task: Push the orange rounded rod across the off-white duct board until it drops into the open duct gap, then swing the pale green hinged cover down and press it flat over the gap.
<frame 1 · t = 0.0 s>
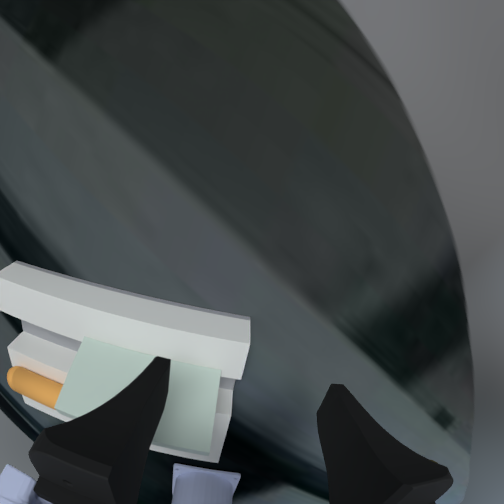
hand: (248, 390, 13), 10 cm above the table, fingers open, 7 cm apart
cover: (138, 395, 17), point 7 cm above the table, hinge at 70.0°
orange rounded rod: (59, 397, 20), point 5 cm above the table, touching duct board
duct board: (116, 362, 24), on the table
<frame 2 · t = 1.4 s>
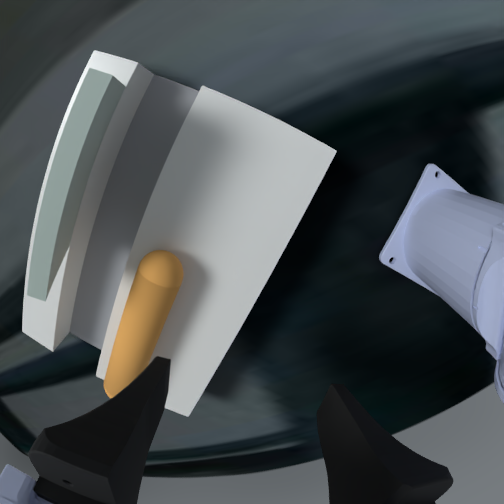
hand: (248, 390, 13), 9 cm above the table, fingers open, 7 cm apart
cover: (71, 178, 13), point 7 cm above the table, hinge at 70.0°
orange rounded rod: (136, 338, 17), point 5 cm above the table, touching duct board
duct board: (149, 243, 20), on the table
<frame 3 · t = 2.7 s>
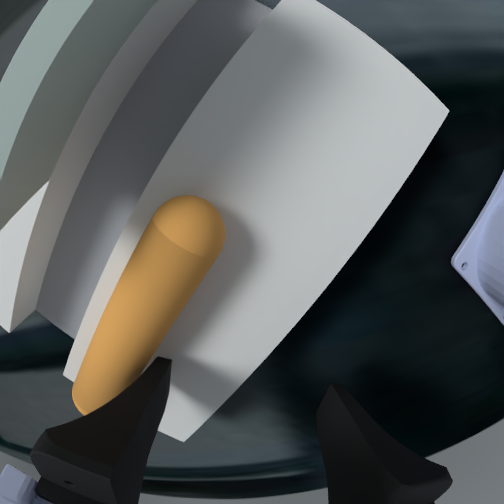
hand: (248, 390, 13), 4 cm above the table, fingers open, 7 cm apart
cover: (77, 54, 6), point 7 cm above the table, hinge at 70.0°
orange rounded rod: (128, 333, 11), point 5 cm above the table, touching duct board, gripper
duct board: (163, 198, 14), on the table
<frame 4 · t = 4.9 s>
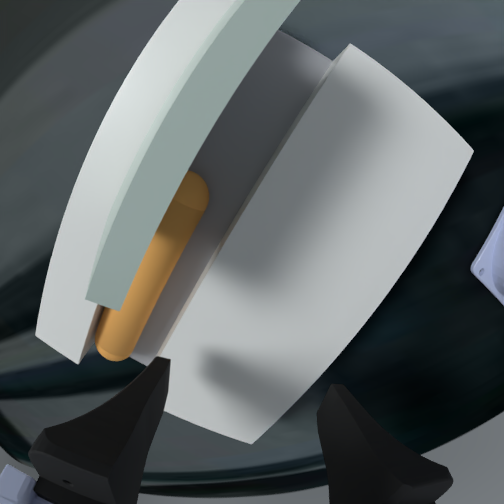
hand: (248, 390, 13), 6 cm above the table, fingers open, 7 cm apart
cover: (178, 115, 8), point 7 cm above the table, hinge at 70.0°
orange rounded rod: (141, 277, 15), point 2 cm above the table, tilted 119°, touching duct board
duct board: (230, 231, 16), on the table
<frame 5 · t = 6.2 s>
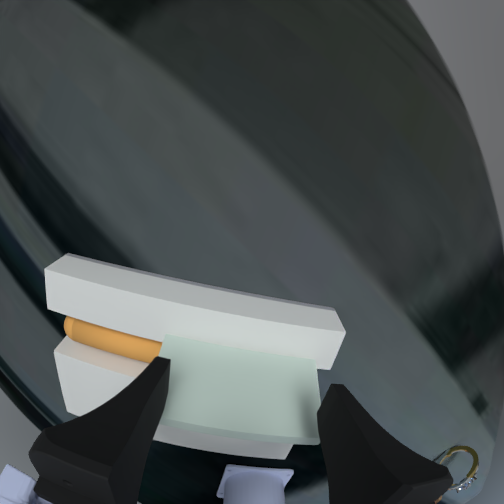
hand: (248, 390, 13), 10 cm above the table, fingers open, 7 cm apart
cover: (237, 391, 17), point 7 cm above the table, hinge at 76.6°
orange rounded rod: (131, 342, 22), point 2 cm above the table, tilted 152°, touching duct board
duct board: (183, 362, 24), on the table
ring: (446, 449, 31), on the table
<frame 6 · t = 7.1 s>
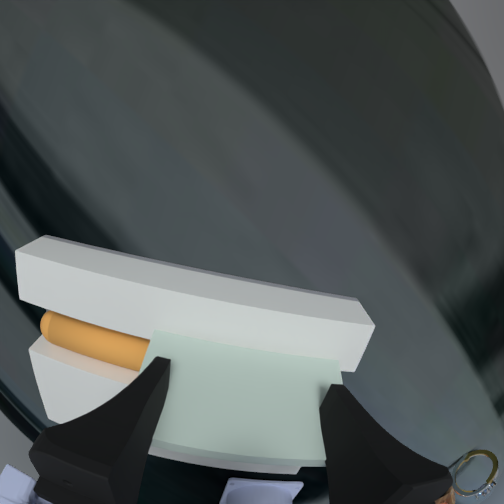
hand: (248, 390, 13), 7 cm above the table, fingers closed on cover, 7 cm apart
cover: (243, 401, 13), point 7 cm above the table, hinge at 75.5°, touching gripper
orange rounded rod: (116, 346, 18), point 2 cm above the table, tilted 174°, touching duct board
duct board: (178, 364, 20), on the table
ring: (464, 454, 27), on the table
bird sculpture: (423, 502, 32), on the table
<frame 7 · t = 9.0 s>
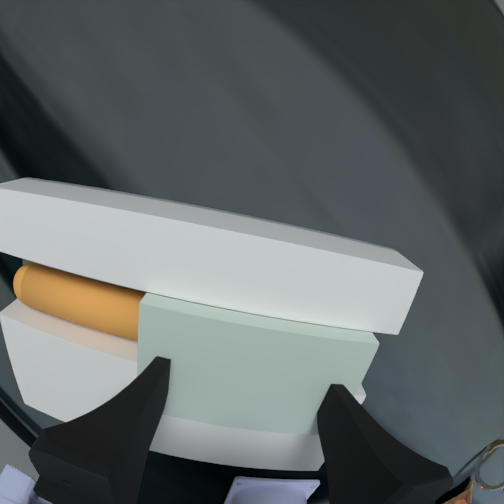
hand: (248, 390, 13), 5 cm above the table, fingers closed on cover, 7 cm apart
cover: (250, 378, 13), point 4 cm above the table, hinge at 1.8°, touching gripper
orange rounded rod: (101, 306, 15), point 2 cm above the table, tilted 170°, touching duct board
duct board: (177, 334, 17), on the table
ring: (487, 445, 24), on the table
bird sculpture: (440, 499, 29), on the table
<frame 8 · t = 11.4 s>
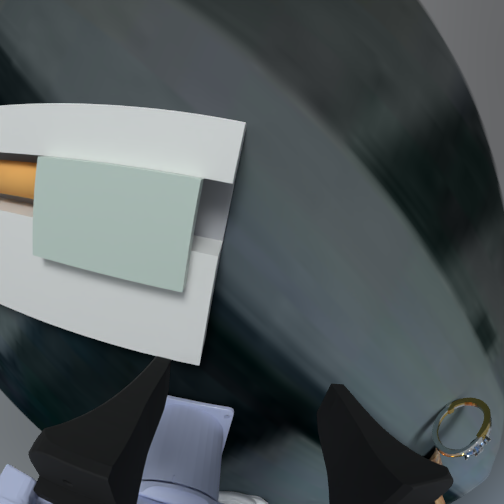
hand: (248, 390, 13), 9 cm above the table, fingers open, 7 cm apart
cover: (105, 219, 16), point 4 cm above the table, hinge at 1.8°
orange rounded rod: (28, 180, 17), point 2 cm above the table, tilted 149°, touching duct board
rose: (234, 500, 32), on the table
duct board: (80, 214, 20), on the table
ring: (447, 404, 27), on the table
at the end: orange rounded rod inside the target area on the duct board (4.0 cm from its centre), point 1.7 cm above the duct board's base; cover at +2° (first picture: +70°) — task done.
